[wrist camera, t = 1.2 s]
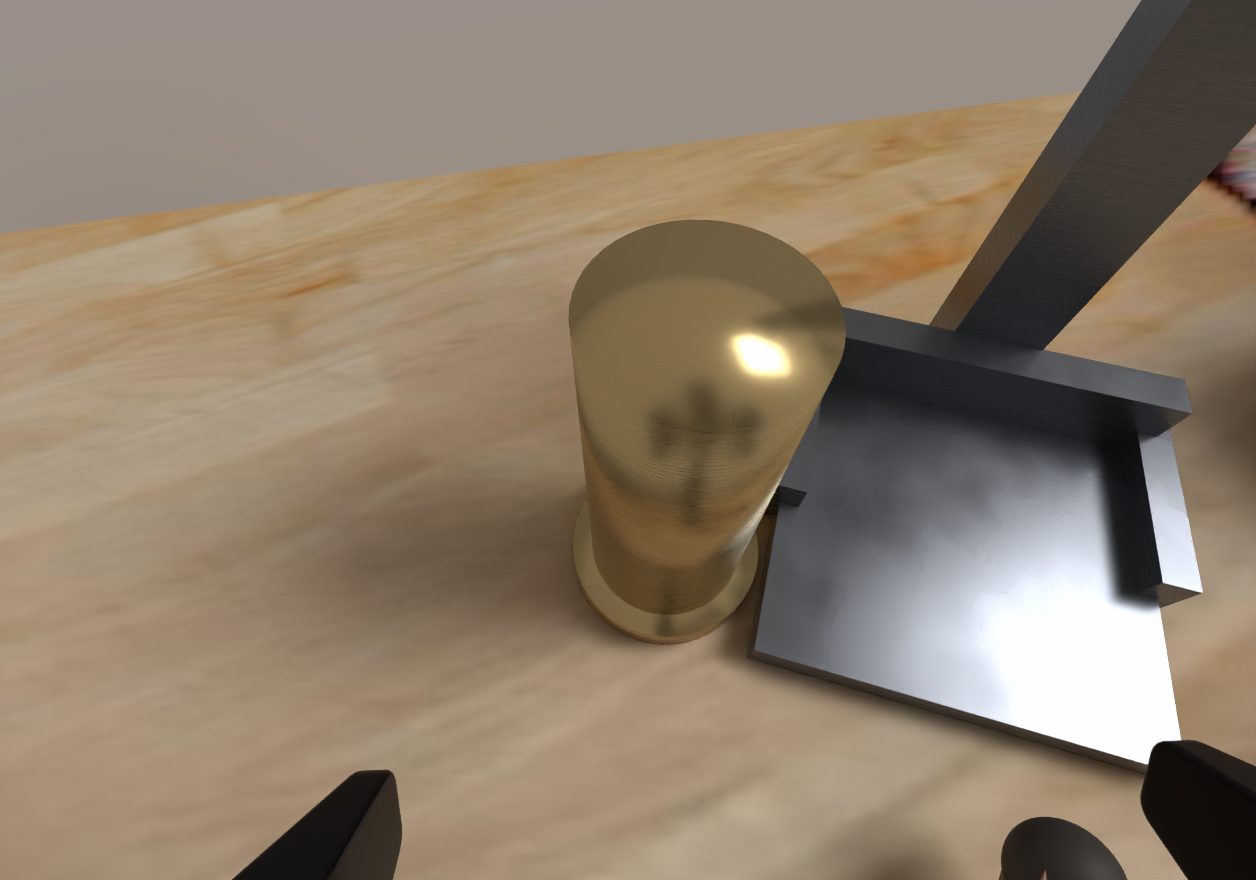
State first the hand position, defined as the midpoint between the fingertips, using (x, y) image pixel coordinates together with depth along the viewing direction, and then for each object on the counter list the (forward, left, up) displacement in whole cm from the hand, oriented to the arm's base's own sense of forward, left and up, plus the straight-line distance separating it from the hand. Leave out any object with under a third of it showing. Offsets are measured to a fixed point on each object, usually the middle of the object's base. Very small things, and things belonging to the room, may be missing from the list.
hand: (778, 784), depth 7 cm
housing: (+6, +4, -13) cm, 16 cm away
